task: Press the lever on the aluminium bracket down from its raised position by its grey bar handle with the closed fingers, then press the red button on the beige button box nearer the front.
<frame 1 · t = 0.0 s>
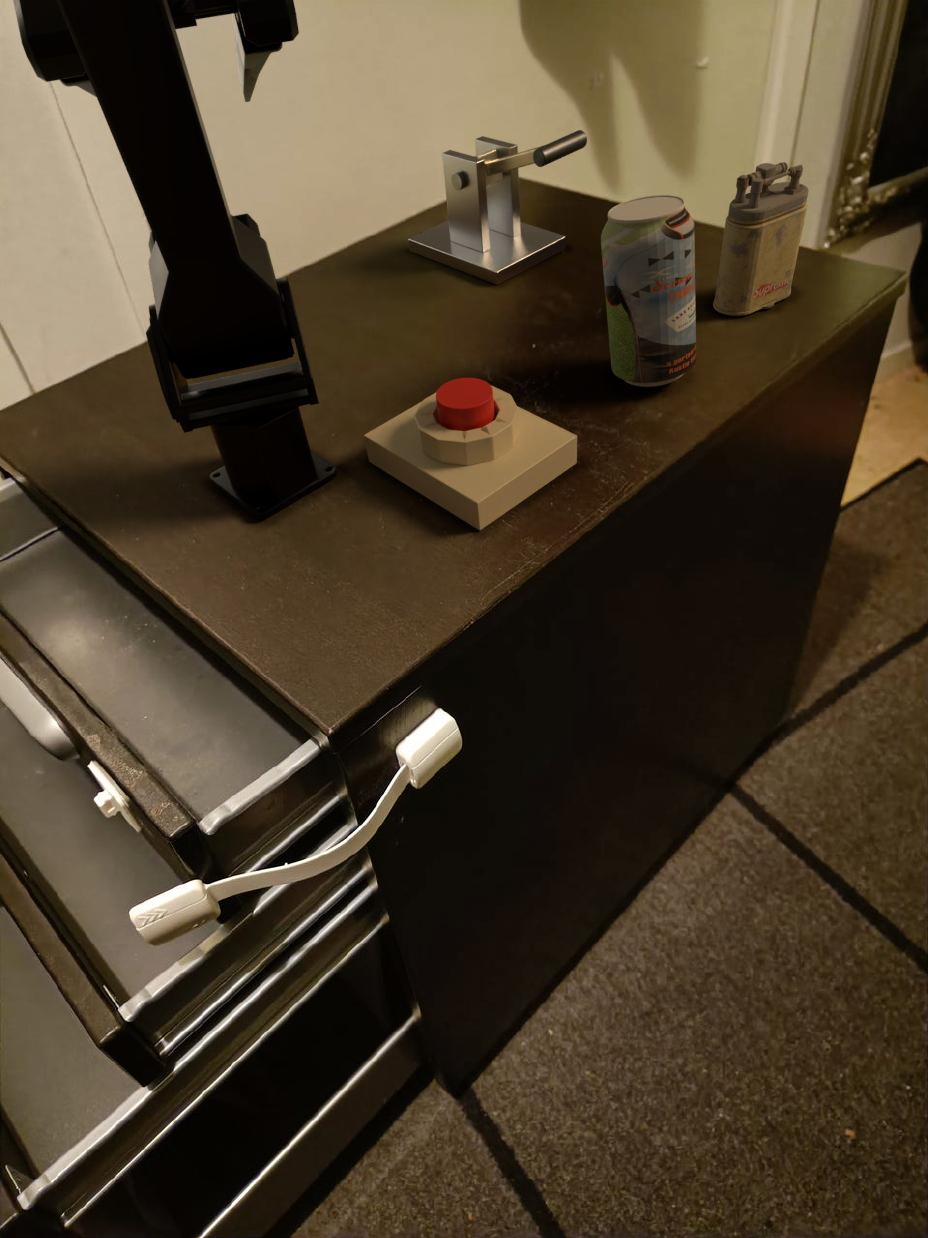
hand: (189, 106, 67), 15 cm above the table, tool tilted 35°, fingers open, 9 cm apart
button: (465, 404, 53), point 4 cm above the table, slide at 0.1 cm
button box: (471, 462, 56), on the table
beverage can: (644, 375, 62), on the table
bracket: (486, 250, 79), on the table
lighter: (752, 303, 68), on the table
lever: (515, 160, 70), point 9 cm above the table, hinge at 20.0°
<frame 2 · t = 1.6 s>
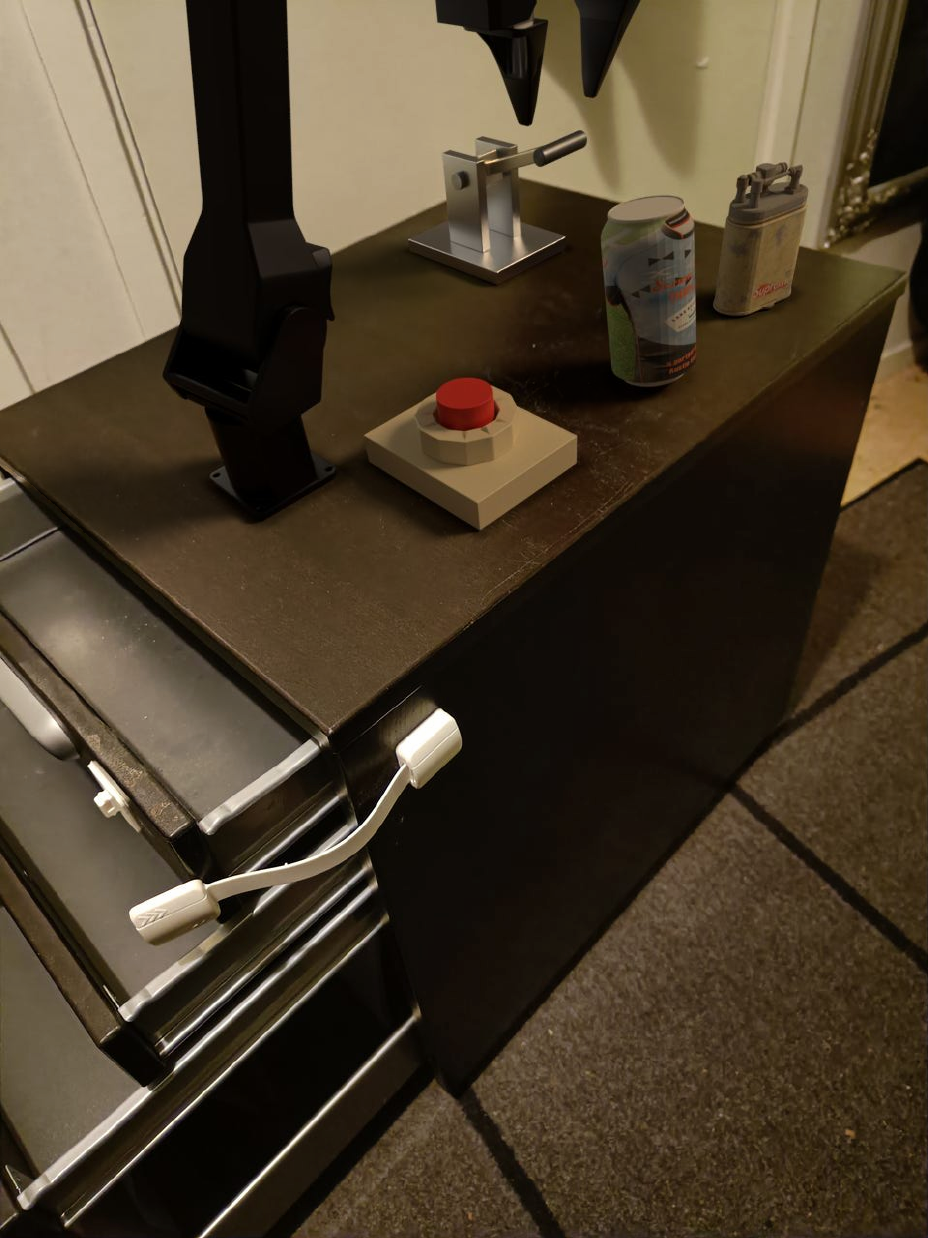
hand: (558, 110, 64), 13 cm above the table, tool pointing down, fingers open, 7 cm apart
nothing on the table moved.
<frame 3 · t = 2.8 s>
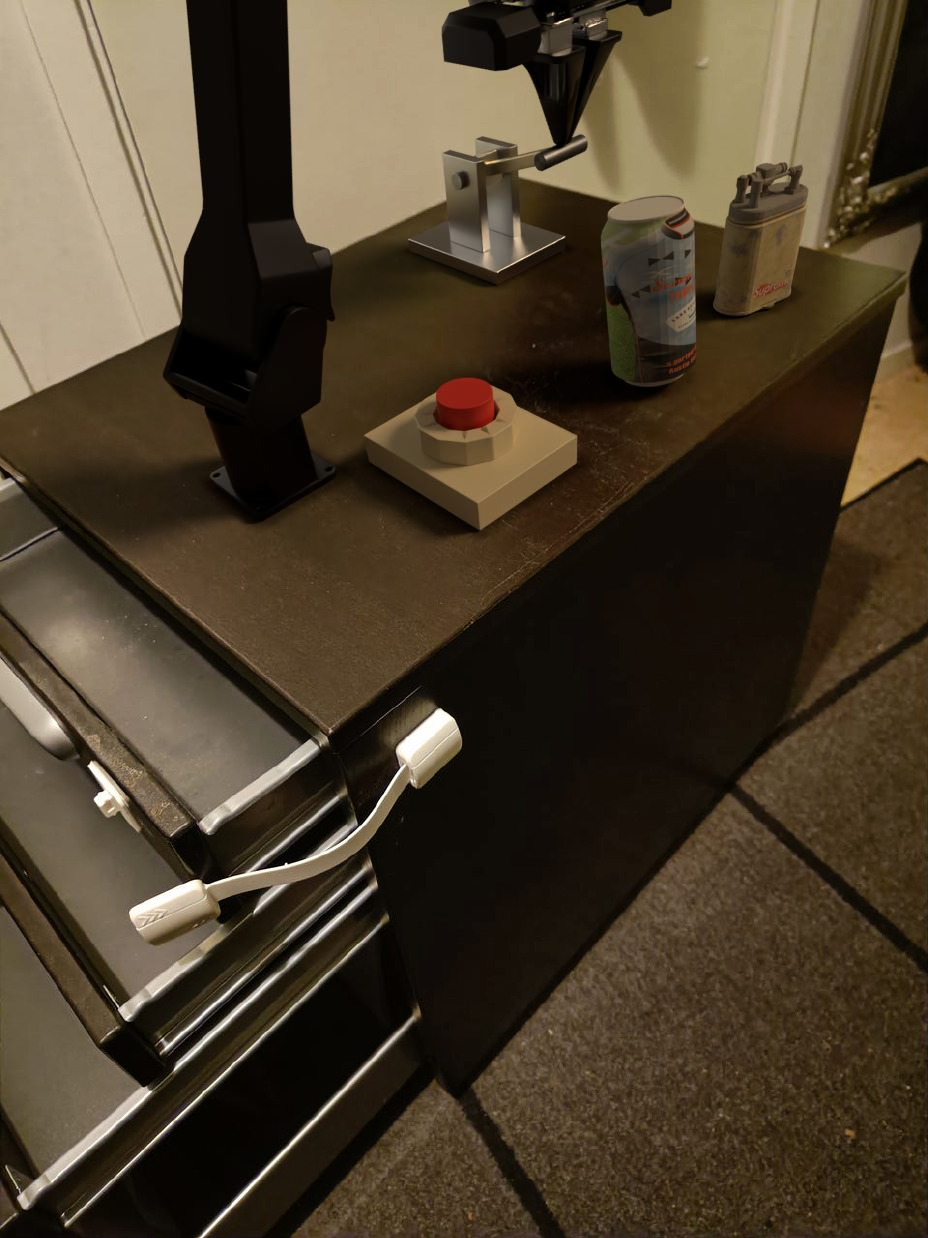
hand: (561, 143, 66), 11 cm above the table, tool pointing down, fingers closed, pressing on lever
lever: (516, 162, 70), point 8 cm above the table, hinge at 18.2°, touching gripper
everything else where it was.
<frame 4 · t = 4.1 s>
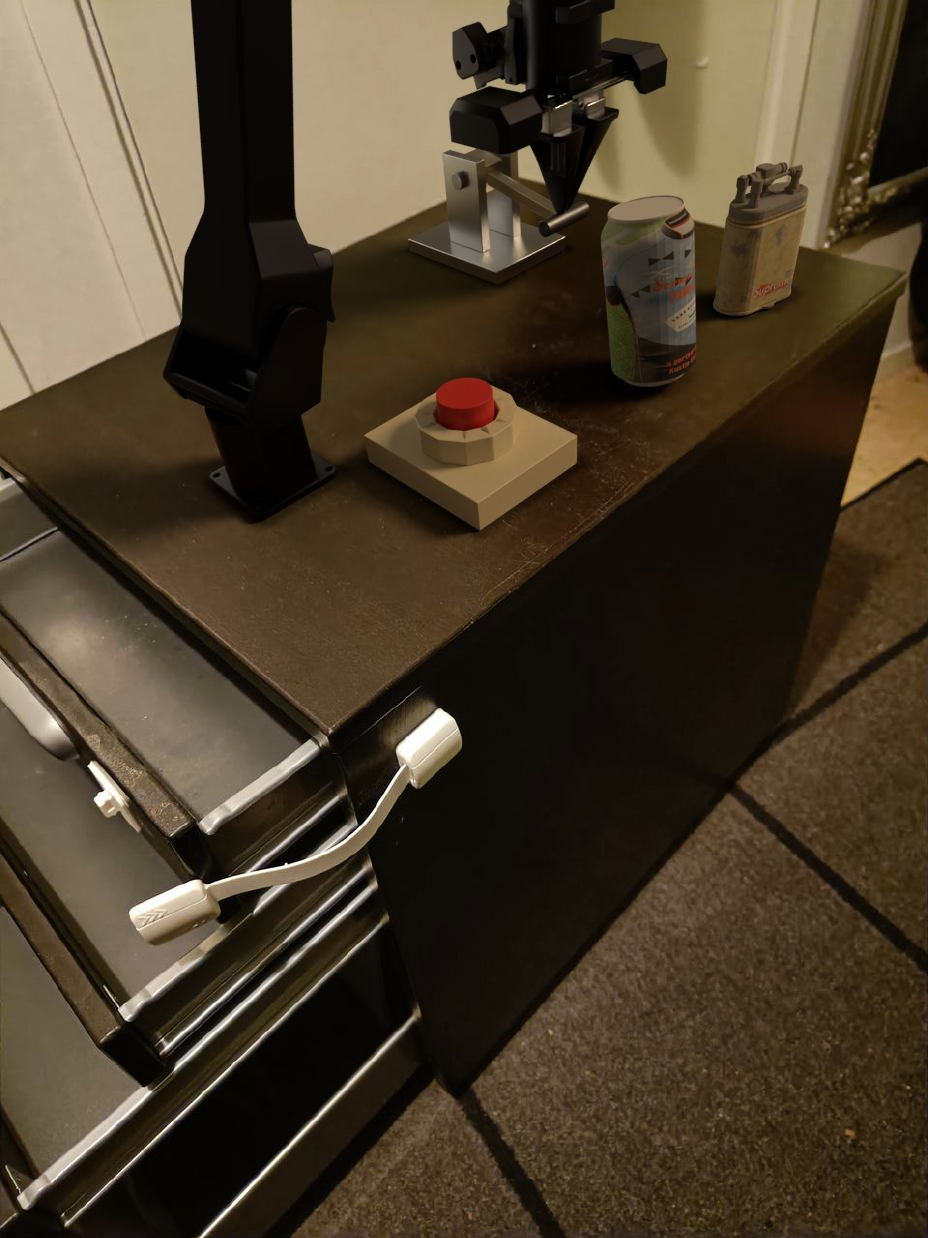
hand: (562, 210, 69), 6 cm above the table, tool pointing down, fingers closed, pressing on lever
lever: (518, 192, 72), point 6 cm above the table, hinge at -11.1°, touching gripper
everything else where it was.
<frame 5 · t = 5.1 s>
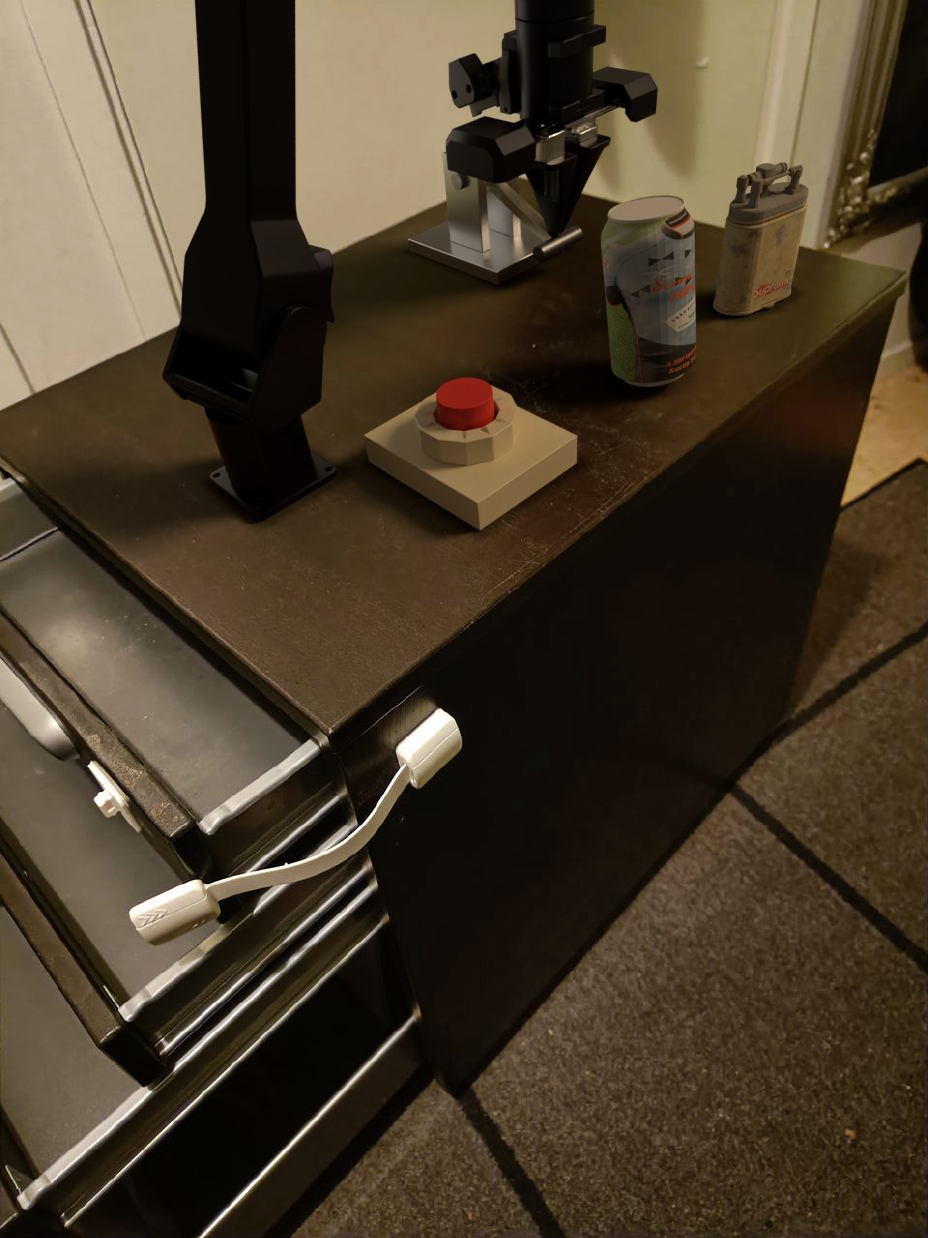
hand: (555, 233, 71), 4 cm above the table, tool pointing down, fingers closed, pressing on lever
lever: (516, 203, 73), point 5 cm above the table, hinge at -24.5°, touching gripper
everything else where it was.
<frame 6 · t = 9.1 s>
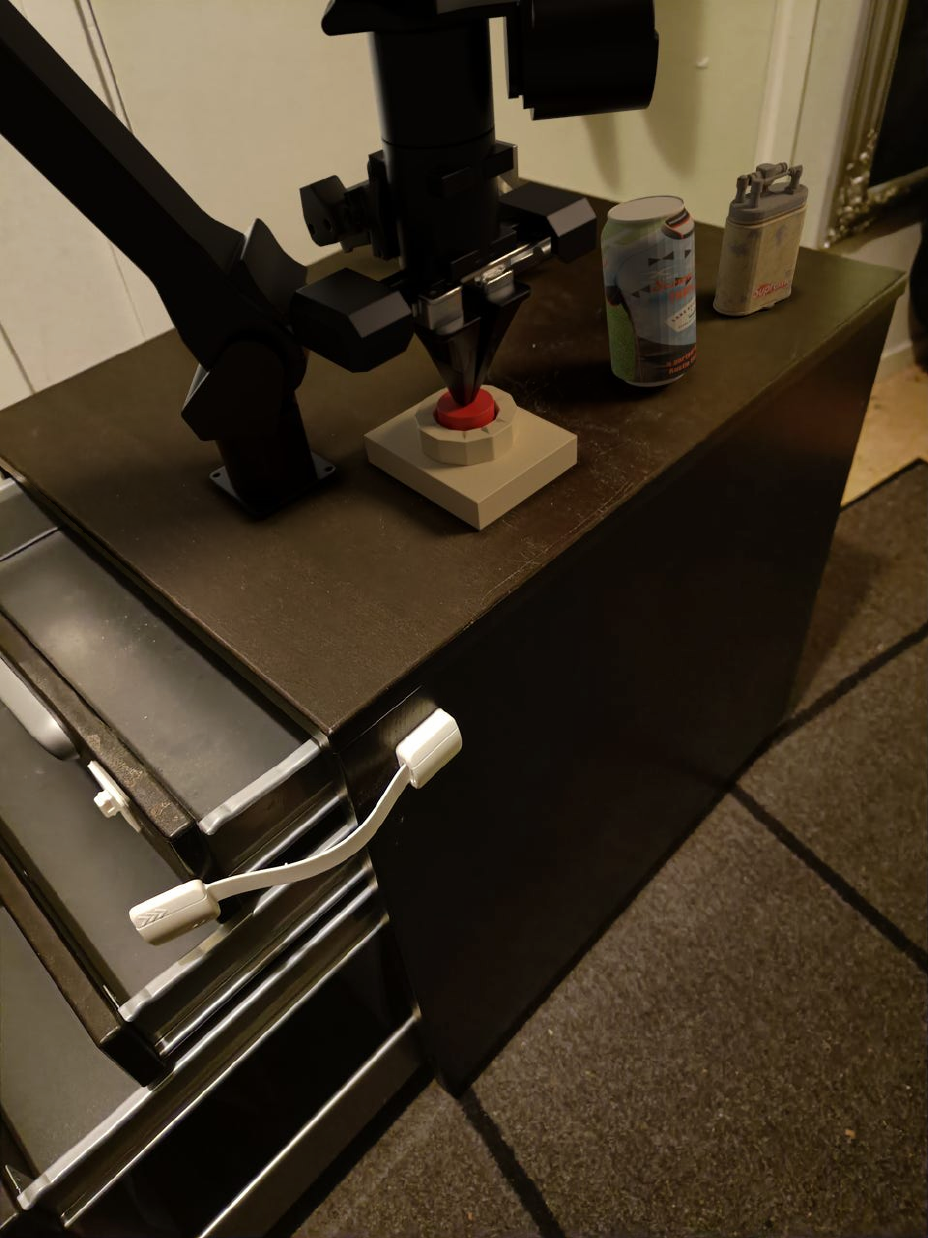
hand: (464, 401, 53), 5 cm above the table, tool pointing down, fingers closed, pressing on button
button: (466, 413, 53), point 4 cm above the table, slide at -0.5 cm, touching gripper
lever: (516, 203, 73), point 5 cm above the table, hinge at -24.5°
everything else where it was.
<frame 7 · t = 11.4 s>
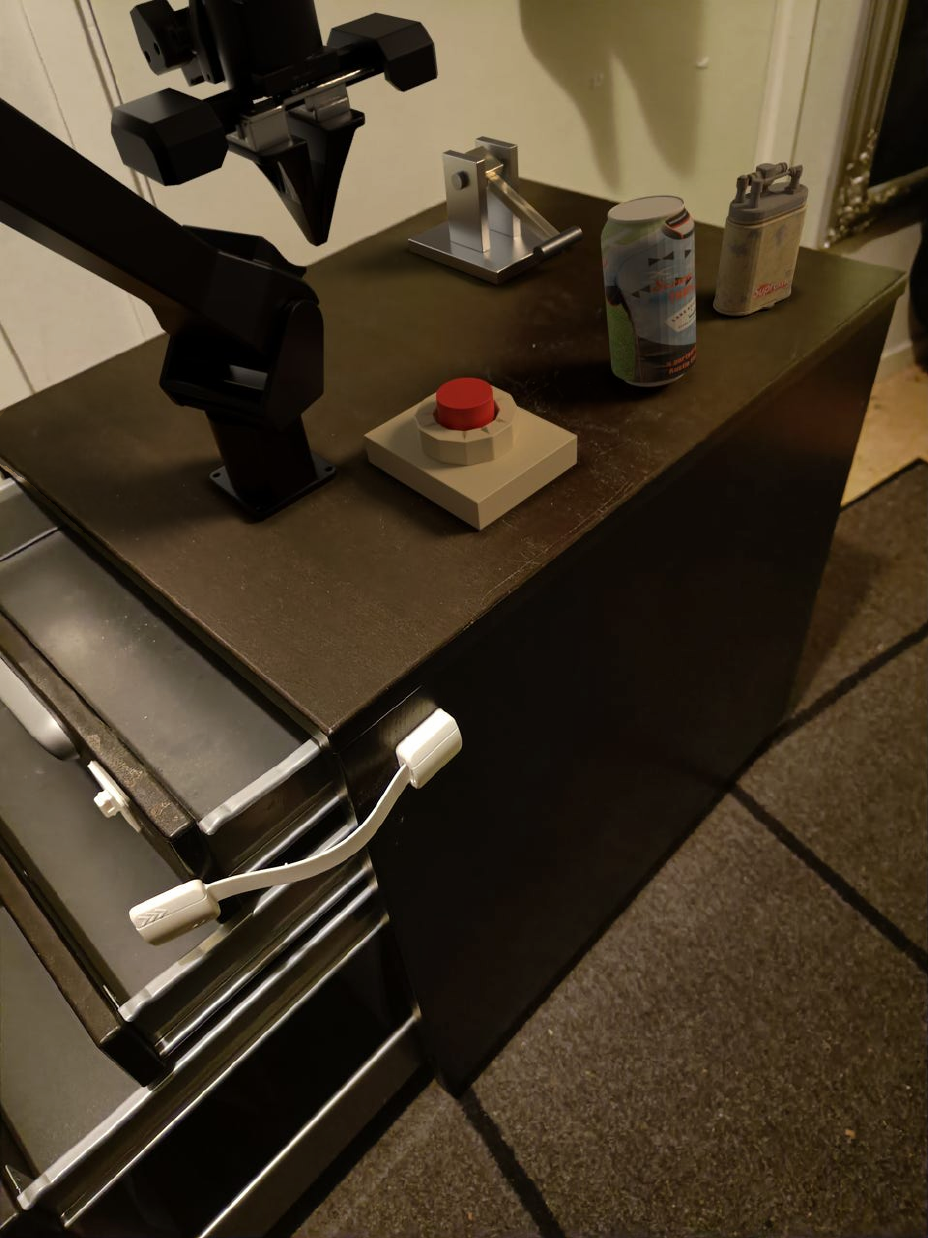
hand: (318, 242, 54), 12 cm above the table, tool pointing down, fingers closed
button: (465, 404, 53), point 4 cm above the table, slide at 0.1 cm
everything else where it was.
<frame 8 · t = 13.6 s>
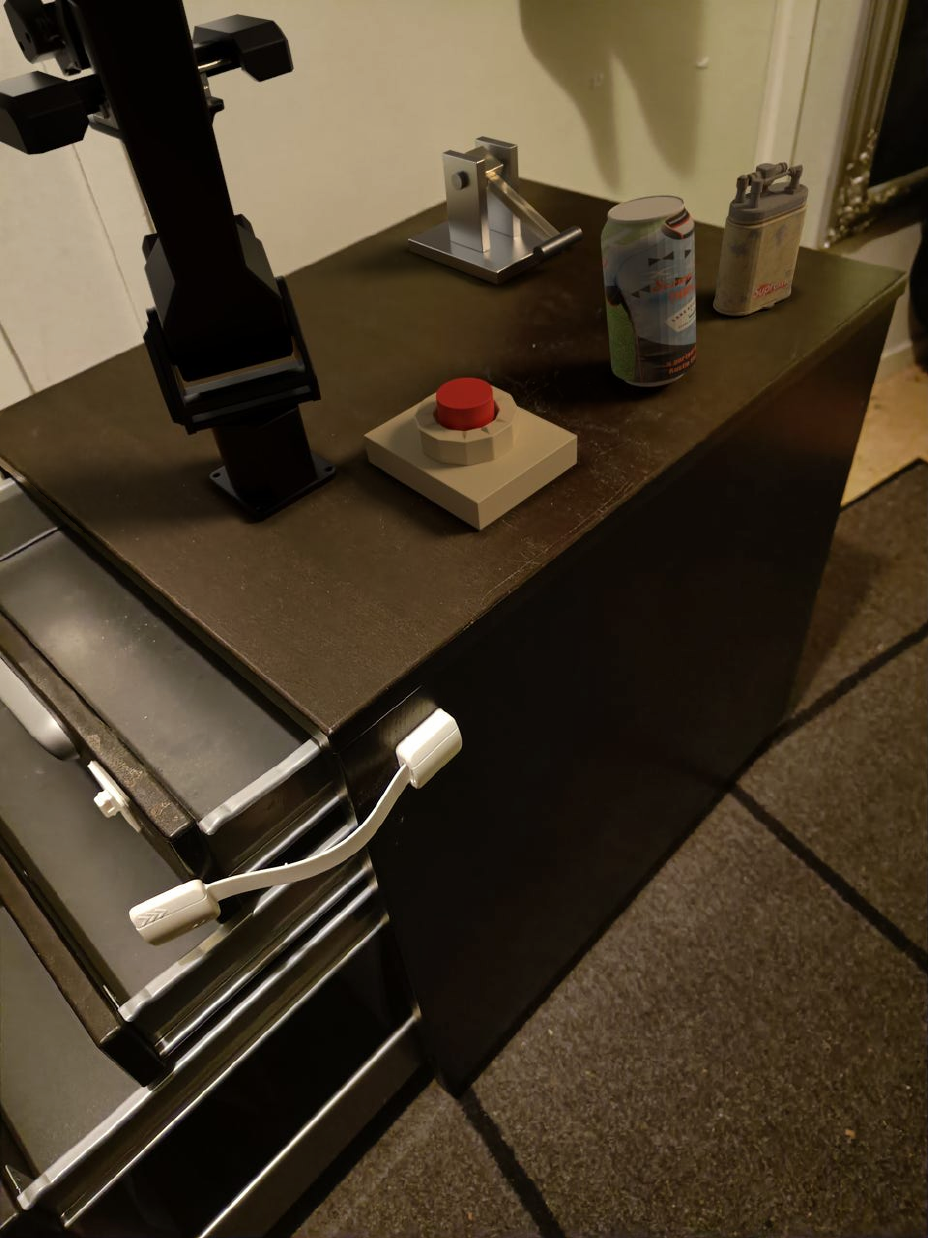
hand: (189, 221, 58), 12 cm above the table, tool pointing down, fingers closed
nothing on the table moved.
at the end: lever at -24° (first picture: +20°); button pushed in 1.2 cm at the most during the clip, back to where it started at the end; button slide at 0.1 cm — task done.
